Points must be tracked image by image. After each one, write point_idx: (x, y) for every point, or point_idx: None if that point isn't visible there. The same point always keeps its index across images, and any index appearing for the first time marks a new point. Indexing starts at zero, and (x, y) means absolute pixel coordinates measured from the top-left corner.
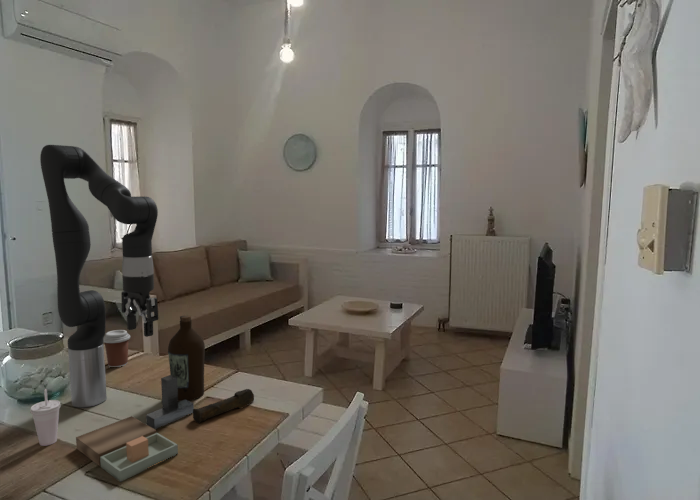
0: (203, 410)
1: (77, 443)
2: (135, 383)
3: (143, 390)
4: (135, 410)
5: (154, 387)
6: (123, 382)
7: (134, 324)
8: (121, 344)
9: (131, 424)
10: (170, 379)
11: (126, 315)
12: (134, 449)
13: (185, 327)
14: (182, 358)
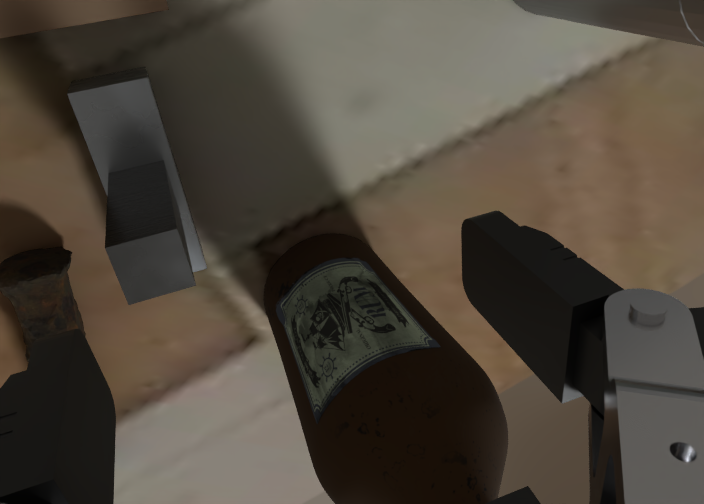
0: (17, 303)
1: None
2: (563, 153)
3: (483, 160)
4: (326, 74)
5: (477, 202)
6: (606, 118)
7: (492, 307)
8: None
9: None
10: (115, 267)
11: (623, 302)
12: None
13: None
14: (325, 383)
